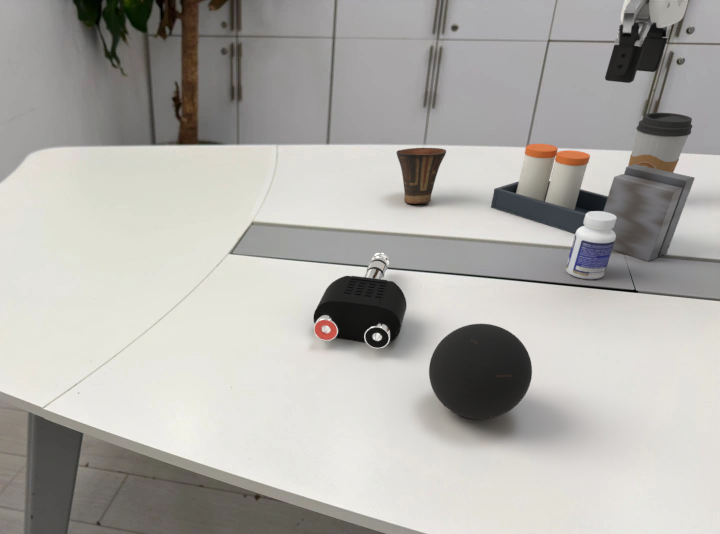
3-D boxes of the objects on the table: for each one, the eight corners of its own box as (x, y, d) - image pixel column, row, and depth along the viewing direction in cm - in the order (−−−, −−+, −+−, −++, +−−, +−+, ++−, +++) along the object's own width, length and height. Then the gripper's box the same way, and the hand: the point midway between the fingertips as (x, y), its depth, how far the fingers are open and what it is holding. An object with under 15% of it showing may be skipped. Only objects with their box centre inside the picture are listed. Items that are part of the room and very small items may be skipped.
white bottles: (579, 212, 120) (596, 154, 115) (562, 219, 118) (578, 160, 112) (524, 197, 128) (537, 142, 123) (507, 202, 126) (519, 146, 120)
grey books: (666, 253, 106) (695, 177, 99) (648, 261, 104) (676, 184, 97) (611, 236, 112) (634, 164, 105) (593, 244, 110) (615, 170, 103)
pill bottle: (611, 277, 99) (631, 219, 94) (581, 282, 98) (599, 224, 93) (586, 263, 104) (603, 207, 99) (557, 268, 103) (572, 211, 98)
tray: (640, 226, 116) (646, 206, 114) (601, 242, 110) (607, 221, 108) (529, 194, 131) (533, 176, 129) (490, 207, 126) (494, 188, 124)
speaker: (452, 374, 79) (468, 298, 74) (536, 409, 73) (560, 329, 67) (404, 410, 74) (417, 330, 68) (490, 451, 67) (512, 367, 62)
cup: (413, 190, 135) (420, 139, 129) (448, 202, 129) (457, 148, 123) (380, 199, 131) (386, 146, 126) (415, 211, 125) (422, 156, 119)
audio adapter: (309, 307, 83) (347, 235, 102) (307, 345, 86) (344, 268, 105) (400, 320, 79) (422, 243, 99) (394, 359, 82) (416, 276, 102)
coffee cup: (607, 201, 126) (632, 118, 118) (624, 191, 131) (650, 109, 122) (655, 212, 121) (686, 125, 113) (672, 200, 125) (702, 116, 117)
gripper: (698, -87, 70) (641, 89, 79) (736, -87, 80) (682, 69, 90) (620, -85, 74) (576, 82, 84) (666, -85, 84) (622, 64, 94)
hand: (631, 75), depth 87 cm, fingers open, 9 cm apart
